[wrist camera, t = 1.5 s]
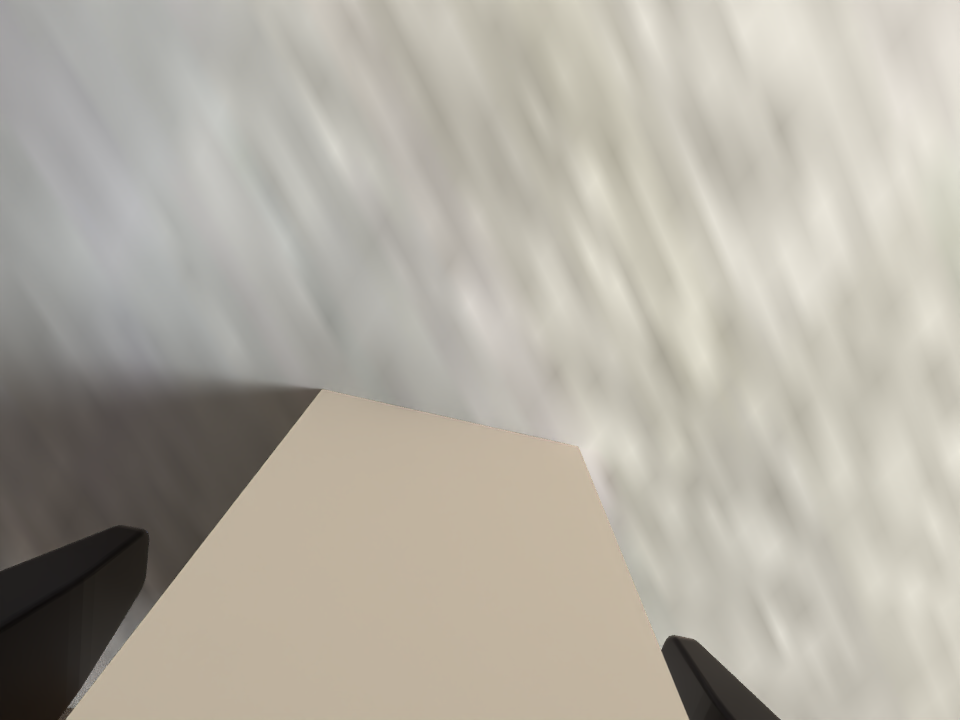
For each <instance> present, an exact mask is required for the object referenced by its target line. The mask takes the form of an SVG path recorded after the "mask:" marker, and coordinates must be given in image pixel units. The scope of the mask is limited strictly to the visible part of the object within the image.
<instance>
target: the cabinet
mask: <svg viewBox="0 0 960 720" xmlns="http://www.w3.org/2000/svg"><path fill="white" fill-rule="evenodd" d="M66 720H689V718H688V716H687V713H686V711H685V708H684V706H683V703H682V701H681V698H680V696H679V693H678V691H677V689H676V686H675V684H674V681H673V679H672V676H671V674H670V671H669V669H668V666H667V664H666V661H665V659H664V656H663V654H662V652H661V649H660V647H659V644H658V642H657V639H656V637H655V634H654V632H653V629H652V627H651V624H650V622H649V619H648V617H647V615H646V612H645V610H644V607H643V605H642V602H641V600H640V597H639V595H638V592H637V590H636V587H635V585H634V582H633V580H632V578H631V575H630V573H629V570H628V568H627V565H626V563H625V560H624V558H623V555H622V553H621V550H620V548H619V545H618V543H617V541H616V538H615V536H614V533H613V531H612V528H611V526H610V523H609V521H608V518H607V516H606V513H605V511H604V508H603V506H602V504H601V501H600V499H599V496H598V494H597V491H596V489H595V486H594V484H593V481H592V479H591V476H590V474H589V471H588V469H587V467H586V464H585V462H584V459H583V457H582V454H581V452H580V449H579V447H578V446H574V445H569V444H565V443H560V442H556V441H551V440H547V439H543V438H538V437H534V436H529V435H525V434H520V433H516V432H511V431H507V430H503V429H498V428H494V427H489V426H485V425H480V424H476V423H471V422H467V421H462V420H458V419H454V418H449V417H445V416H440V415H436V414H431V413H427V412H422V411H418V410H414V409H409V408H405V407H400V406H396V405H391V404H387V403H382V402H378V401H373V400H369V399H365V398H360V397H356V396H351V395H347V394H342V393H338V392H333V391H329V390H324V389H322V390H321V391H320V392H319V394H318V395H317V396H316V398H315V399H314V400H313V401H312V403H311V404H310V405H309V407H308V408H307V409H306V410H305V412H304V413H303V414H302V416H301V417H300V418H299V419H298V421H297V422H296V423H295V425H294V426H293V427H292V428H291V430H290V431H289V432H288V434H287V435H286V436H285V437H284V439H283V440H282V441H281V443H280V444H279V445H278V446H277V448H276V449H275V450H274V452H273V453H272V454H271V456H270V457H269V458H268V459H267V461H266V462H265V463H264V465H263V466H262V467H261V468H260V470H259V471H258V472H257V474H256V475H255V476H254V477H253V479H252V480H251V481H250V483H249V484H248V485H247V486H246V488H245V489H244V490H243V492H242V493H241V494H240V495H239V497H238V498H237V499H236V501H235V502H234V503H233V504H232V506H231V507H230V508H229V510H228V511H227V512H226V513H225V515H224V516H223V517H222V519H221V520H220V521H219V523H218V524H217V525H216V526H215V528H214V529H213V530H212V532H211V533H210V534H209V535H208V537H207V538H206V539H205V541H204V542H203V543H202V544H201V546H200V547H199V548H198V550H197V551H196V552H195V553H194V555H193V556H192V557H191V559H190V560H189V561H188V562H187V564H186V565H185V566H184V568H183V569H182V570H181V571H180V573H179V574H178V575H177V577H176V578H175V579H174V580H173V582H172V583H171V584H170V586H169V587H168V588H167V590H166V591H165V592H164V593H163V595H162V596H161V597H160V599H159V600H158V601H157V602H156V604H155V605H154V606H153V608H152V609H151V610H150V611H149V613H148V614H147V615H146V617H145V618H144V619H143V620H142V622H141V623H140V624H139V626H138V627H137V628H136V629H135V631H134V632H133V633H132V635H131V636H130V637H129V638H128V640H127V641H126V642H125V644H124V645H123V646H122V648H121V649H120V650H119V651H118V653H117V654H116V655H115V657H114V658H113V659H112V660H111V662H110V663H109V664H108V666H107V667H106V668H105V669H104V671H103V672H102V673H101V675H100V676H99V677H98V678H97V680H96V681H95V682H94V684H93V685H92V686H91V687H90V689H89V690H88V691H87V693H86V694H85V695H84V696H83V698H82V699H81V700H80V702H79V703H78V704H77V705H76V707H75V708H74V709H73V711H72V712H71V713H70V715H69V716H68V717H67V718H66Z"/></svg>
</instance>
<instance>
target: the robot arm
mask: <svg viewBox="0 0 960 720" xmlns="http://www.w3.org/2000/svg"><path fill="white" fill-rule="evenodd" d="M148 547H149V535H148V533H147V531H145V530H144V529H139V528H134V527H129V526H124V525H118V526H115V527H112V528H109V529H107V530H104V531H102V532H99V533H97V534H94V535H91V536H89V537H86V538H84V539H81V540H79V541H76V542H74V543H71V544H69V545H66V546H64V547H61V548H58V549H56V550H53V551H51V552H48V553H46V554H43V555H41V556H38V557H36V558H33V559H31V560H28V561H25V562H23V563H20V564H18V565H15V566H13V567H10V568H8V569H5V570H3V571H0V720H58V719H59V718H60V717H61V715H62V714H63V713H64V711H65V710H66V709H67V707H68V706H69V704H70V703H71V702H72V700H73V699H74V697H75V696H76V695H77V693H78V692H79V690H80V689H81V687H82V686H83V684H84V682H85V681H86V679H87V678H88V676H89V675H90V673H91V671H92V670H93V668H94V667H95V665H96V663H97V662H98V660H99V658H100V657H101V655H102V653H103V652H104V650H105V649H106V647H107V645H108V644H109V642H110V640H111V639H112V637H113V635H114V634H115V632H116V631H117V629H118V627H119V626H120V624H121V622H122V621H123V619H124V617H125V616H126V614H127V613H128V611H129V609H130V608H131V606H132V604H133V603H134V601H135V599H136V598H137V596H138V595H139V593H140V591H141V589H142V587H143V584H144V582H145V578H146V570H147V558H148ZM661 652H662V654H663V656H664V659H665V661H666V664H667V666H668V669H669V671H670V674H671V676H672V679H673V681H674V684H675V686H676V689H677V691H678V693H679V696H680V698H681V701H682V703H683V706H684V708H685V711H686V713H687V716H688V718H689V720H780V719H779V718H778V717H777V716H776V715H775V714H774V713H773V712H772V711H771V710H770V709H769V708H768V707H766V706H765V705H764V704H763V703H762V702H761V701H760V700H759V699H758V698H757V697H756V696H755V695H754V694H753V693H752V692H751V691H749V690H748V689H747V688H746V687H745V686H744V685H743V684H742V683H741V682H740V681H739V680H738V679H737V678H736V677H735V676H734V675H733V674H731V673H730V672H729V671H728V670H727V669H726V668H725V667H724V666H723V665H722V664H721V663H720V662H719V661H718V660H717V659H716V658H714V657H713V656H712V655H711V654H710V653H709V652H708V651H707V650H706V649H705V648H704V647H703V646H702V645H701V644H700V643H698V642H697V641H696V640H694V639H691V638H686V637H681V636H676V635H672V636H669V637H668V638H667V639H666V641H665V643H664V645H663V647H662V650H661Z"/></svg>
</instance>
